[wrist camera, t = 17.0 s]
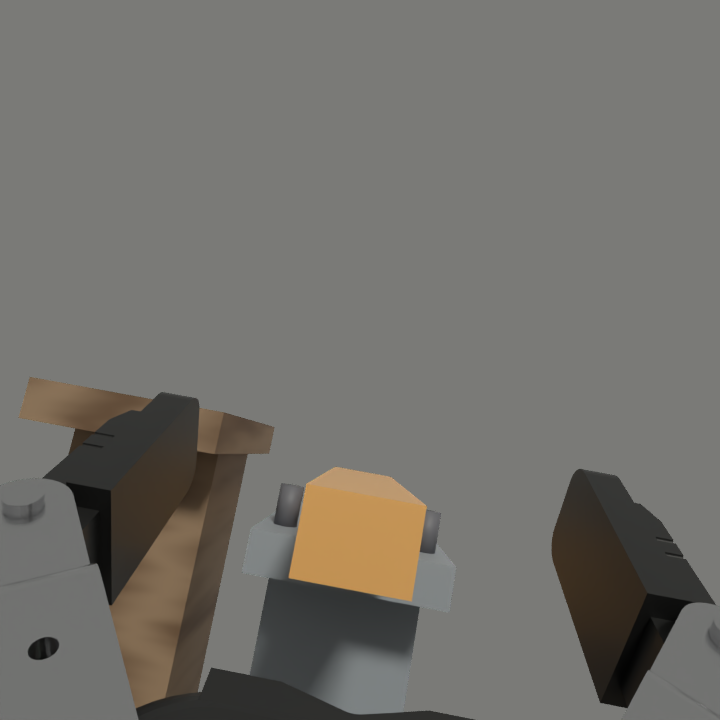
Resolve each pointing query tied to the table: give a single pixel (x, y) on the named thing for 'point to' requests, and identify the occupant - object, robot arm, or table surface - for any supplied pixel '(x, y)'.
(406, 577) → the orange bar
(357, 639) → the tall gray pegged stand
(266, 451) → the tall walnut stand
